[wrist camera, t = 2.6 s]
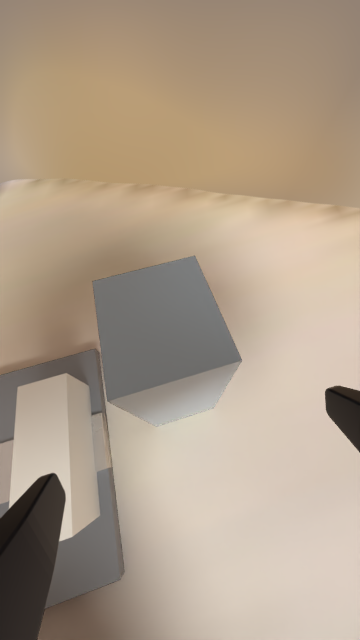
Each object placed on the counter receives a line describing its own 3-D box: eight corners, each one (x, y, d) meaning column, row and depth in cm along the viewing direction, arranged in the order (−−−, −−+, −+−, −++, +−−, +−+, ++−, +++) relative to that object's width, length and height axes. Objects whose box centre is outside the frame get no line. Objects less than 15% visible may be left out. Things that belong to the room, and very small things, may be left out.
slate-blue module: (213, 408, 17) (242, 360, 7) (156, 426, 16) (107, 401, 7) (193, 349, 19) (194, 255, 10) (142, 364, 19) (92, 281, 9)
